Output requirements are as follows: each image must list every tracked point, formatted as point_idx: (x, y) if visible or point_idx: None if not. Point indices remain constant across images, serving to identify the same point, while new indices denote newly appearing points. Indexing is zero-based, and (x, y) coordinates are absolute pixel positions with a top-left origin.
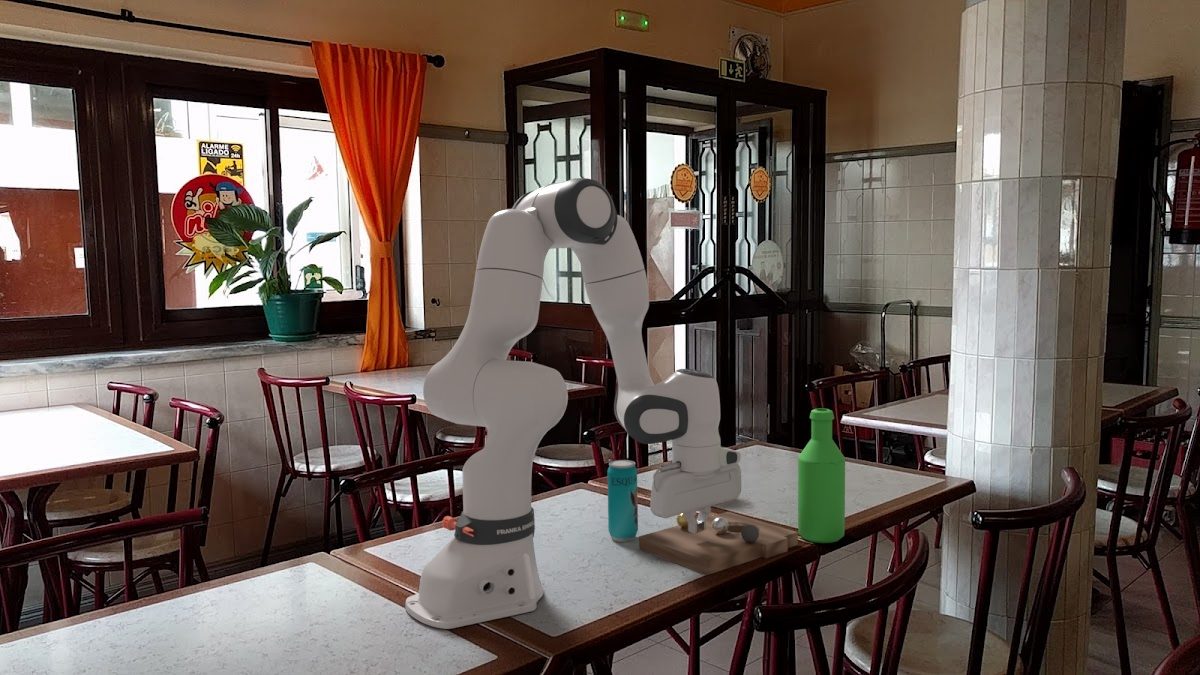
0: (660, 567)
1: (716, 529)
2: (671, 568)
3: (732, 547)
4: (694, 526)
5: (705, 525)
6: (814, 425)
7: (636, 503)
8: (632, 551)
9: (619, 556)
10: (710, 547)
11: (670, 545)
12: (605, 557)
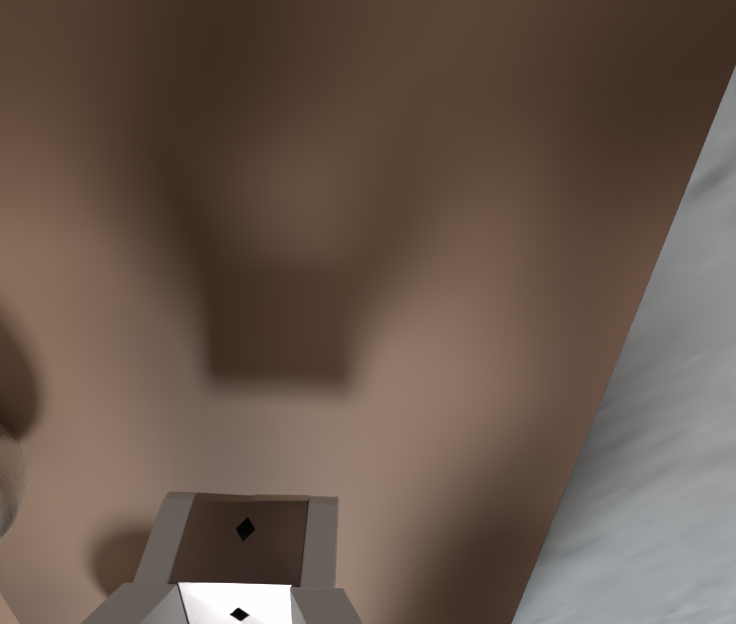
0: (697, 351)
1: (9, 463)
2: (677, 291)
3: (97, 71)
4: (335, 564)
5: (162, 533)
6: None
7: None
8: (532, 571)
9: (640, 566)
10: (320, 254)
11: (529, 485)
12: (692, 588)
